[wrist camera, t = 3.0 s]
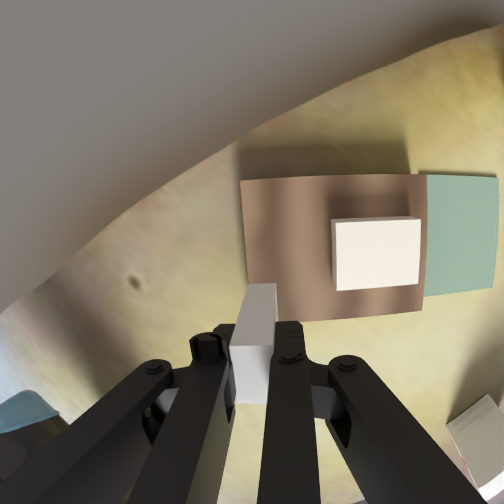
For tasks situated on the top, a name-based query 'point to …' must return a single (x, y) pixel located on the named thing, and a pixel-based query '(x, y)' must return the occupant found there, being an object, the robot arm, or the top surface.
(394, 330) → the top surface
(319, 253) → the plate
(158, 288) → the top surface
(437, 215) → the mat
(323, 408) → the robot arm
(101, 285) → the top surface
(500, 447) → the supplement box
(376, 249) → the tile
